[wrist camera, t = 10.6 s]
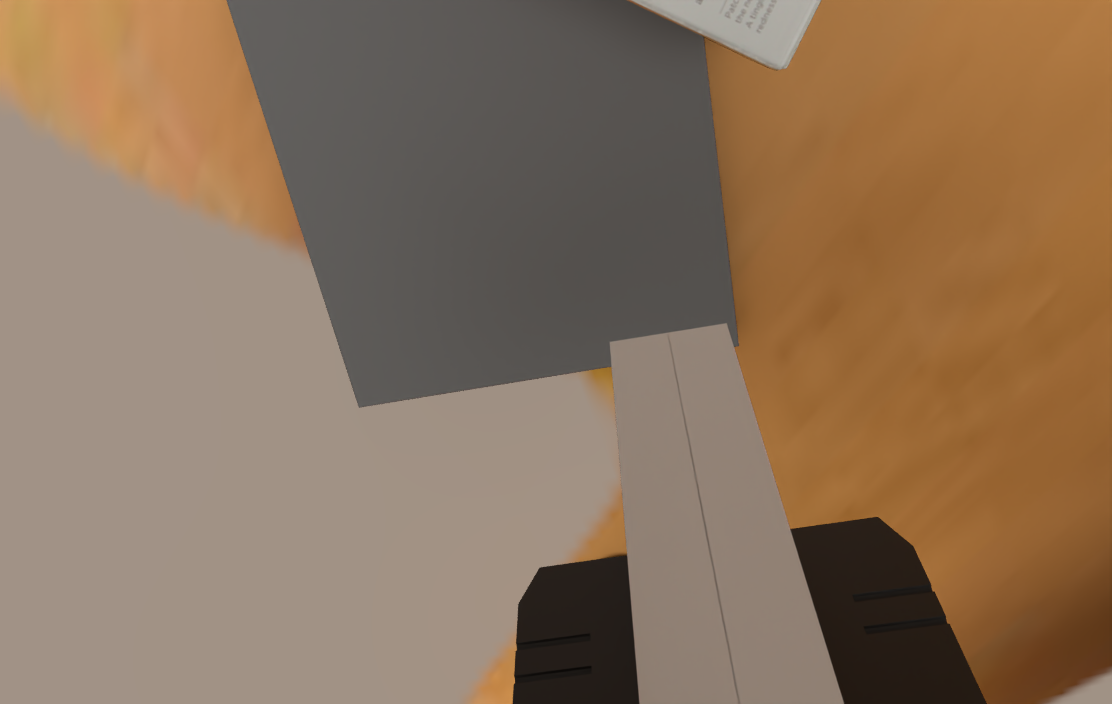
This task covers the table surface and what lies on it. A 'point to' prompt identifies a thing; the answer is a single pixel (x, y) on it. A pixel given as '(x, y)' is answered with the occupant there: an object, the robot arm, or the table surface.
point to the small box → (743, 24)
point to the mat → (493, 181)
